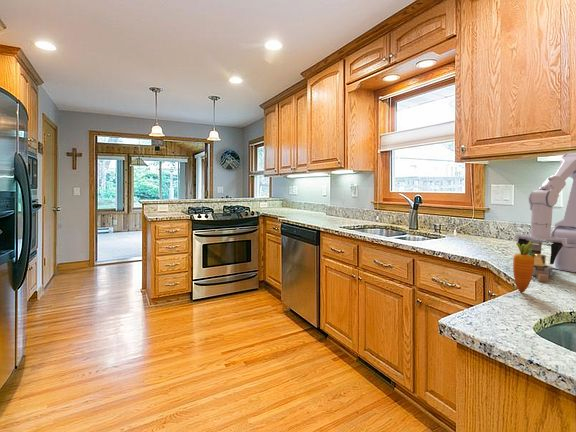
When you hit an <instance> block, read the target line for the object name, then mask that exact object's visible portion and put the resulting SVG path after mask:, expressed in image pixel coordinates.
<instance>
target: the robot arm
mask: <svg viewBox="0 0 576 432" xmlns="http://www.w3.org/2000/svg"><path fill="white" fill-rule="evenodd" d="M568 178H571V179H572V184H571V186H570V187H571V189H570V192H569V196H568V201H567V204H566V208H565V212H564V216H563V219H561V220H559V221H558V222H556V223H554V226H553V228H552V220H553V210H554V209H553V207H555V206H556V205H557V202H558V198H559V196H560V195H559V194H560V193H561V191H563V189H564V188H565V186H566V185H567V183H566V180H567V179H568ZM528 203H529V209H530V211H531V215H530V216H531V218H530V231H529V232H530V233H529V234H524V233H523V234H521V233H515V235H514V240H516V241H517V243H519V244H520V246H521V245H522V244H525V245H526V244H528V243H529V241H538V242H542V243H548V244H549V243H550V259H549V265H550V266H551V265H552V266H551V267H552V268H553V270H559V271H566V272H571V273H576V152H574V153H564V154H563V155H562V156H561V158H560V161H559V167H558V168H557V171H556V172H555V174H554V175H551V176H548V177H547V178H546V180H545V181H544V182H543V183H542V184H541V186H539V188H538V189H535V190H533V191H531V192H530V194H529V196H528Z"/></svg>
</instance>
